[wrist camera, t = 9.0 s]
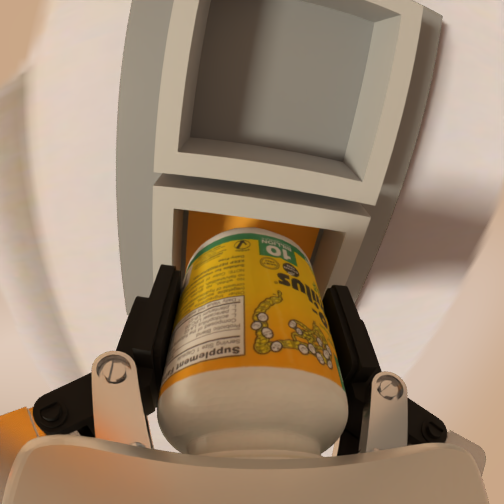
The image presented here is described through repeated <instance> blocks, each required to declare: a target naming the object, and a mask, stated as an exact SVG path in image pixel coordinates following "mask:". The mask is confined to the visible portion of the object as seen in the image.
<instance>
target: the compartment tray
mask: <svg viewBox="0 0 504 504" xmlns="http://www.w3.org/2000/svg"><path fill="white" fill-rule="evenodd" d="M442 17H443V16H442V15H440V14H438V13H436V12H434V11H433V10H431V9H429V8H427V7H425V6H423V5H421V4H419V3H417V2H415V1H413V0H132V4H131V9H130V14H129V20H128V25H127V31H126V38H125V45H124V52H123V60H122V68H121V78H120V89H119V101H118V117H117V140H116V197H117V221H118V237H119V250H120V261H121V272H122V281H123V289H124V297H125V305H126V312H127V315H129V313H130V311H131V308H132V305H133V303H134V300H135V298H136V297H137V296H141V297H148V298H149V296H150V293H151V290H152V287H153V284H154V282H155V279H156V276H157V273H158V271H159V268H160V266H161V264H164V265H171V266H176V270H179V271H181V289H182V285H183V281H184V277H185V274H186V270H187V267H188V264H189V262H190V260H191V258H192V256H193V255H194V253H195V252H196V251H197V250H198V248H199V247H200V246H201V245H202V244H203V243H205V242H206V241H207V240H209V239H210V238H212V237H214V236H216V235H217V234H219V233H222V232H225V231H228V230H231V229H234V228H246V227H255V228H261V229H265V230H268V231H272V232H274V233H277V234H280V235H282V236H285V237H287V238H289V239H291V240H292V241H293V242H295V243H296V244H297V245H298V246H299V247H300V248H301V249H302V250H303V252H304V253H305V254H306V256H307V258H308V259H309V261H310V263H311V266H312V269H313V272H314V275H315V279H316V283H317V286H318V289H319V293H320V296H321V300H323V297H324V294H325V292H326V290H327V288H331V286H332V285H342V286H347V287H348V289H349V291H350V294H351V296H352V299H353V301H354V304H355V302H356V300H357V298H358V296H359V294H360V291H361V289H362V287H363V285H364V282H365V280H366V278H367V276H368V273H369V271H370V269H371V266H372V264H373V262H374V259H375V257H376V255H377V252H378V250H379V247H380V245H381V242H382V240H383V237H384V235H385V232H386V230H387V227H388V224H389V222H390V219H391V216H392V214H393V211H394V208H395V205H396V203H397V200H398V197H399V194H400V191H401V188H402V185H403V182H404V179H405V176H406V173H407V170H408V167H409V164H410V161H411V157H412V154H413V151H414V147H415V144H416V140H417V137H418V133H419V130H420V126H421V122H422V119H423V115H424V111H425V107H426V103H427V98H428V94H429V90H430V85H431V81H432V76H433V71H434V66H435V61H436V56H437V50H438V44H439V38H440V31H441V25H442Z"/></svg>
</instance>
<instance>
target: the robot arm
mask: <svg viewBox="0 0 504 504" xmlns="http://www.w3.org/2000/svg"><path fill="white" fill-rule="evenodd" d="M180 293H181V271H179V270H176V266H171V265H164V264H161V266H160V268H159V271H158V273H157V276H156V279H155V282H154V284H153V287H152V290H151V293H150V296H149V298H148V297H141V296H137V297H136V298H135V300H134V303H133V305H132V308H131V311H130V313H129V316H128V319H127V321H126V324H125V327H124V329H123V332H122V335H121V338H120V341H119V343H118V346H117V349H116V351H109V352H105V353H103V354H101V355H99V356H98V357H97V358H96V359H95V361H94V363H93V364H92V372H91V373H89V374H87V375H85V376H83V377H81V378H79V379H77V380H75V381H73V382H71V383H68V384H66V385H64V386H62V387H60V388H58V389H56V390H53V391H51V392H49V393H47V394H45V395H43V396H42V397H40V398H39V399H38V400H37V401H36V403H35V404H34V407H32V408H29V409H28V408H27V407H23V408H21V409H18V410H15V411H12V412H10V413H7V414H4V415H1V416H0V504H489V501H488V497H487V493H486V489H485V486H484V483H483V479H482V474H483V470H484V466H485V462H486V456H485V452H484V450H483V449H482V448H481V447H480V446H478V445H476V444H475V443H473V442H471V441H469V440H467V439H465V438H464V437H462V436H460V435H458V434H456V433H454V432H453V431H451V430H450V431H449V432H447V429H446V427H445V425H444V423H443V422H442V421H441V420H440V419H439V418H437V417H436V416H434V415H433V414H431V413H430V412H428V411H427V410H425V409H424V408H422V407H421V406H419V405H417V404H416V403H415V402H413V401H412V400H410V399H409V398H407V388H406V385H405V383H404V381H403V380H402V379H401V378H400V377H399V376H398V375H396V374H394V373H391V372H386V371H384V372H382V371H381V369H380V366H379V363H378V360H377V357H376V354H375V351H374V349H373V346H372V343H371V340H370V338H369V335H368V332H367V329H366V327H365V324H364V322H363V321H362V320H361V319H360V317H359V314H358V312H357V309H356V307H355V304H354V301H353V299H352V296H351V294H350V291H349V289H348V287H347V286H342V285H332V286H331V288H327V290H326V292H325V294H324V297H323V300H322V304H323V307H324V313H325V316H326V319H327V321H328V325H329V330H330V333H331V337H332V340H333V343H334V347H335V351H336V354H337V359H338V363H339V367H340V371H341V376H342V379H343V384H344V388H345V392H346V396H347V402H348V419H347V423H346V426H345V429H344V431H343V433H342V434H341V436H340V437H339V438H338V440H337V441H336V442H335V443H334V448H333V453H332V457H320V458H303V459H241V458H223V457H210V456H200V455H191V454H183V453H175V452H169V451H162V450H156V449H154V445H153V441H152V436H151V431H150V426H149V421H148V415H149V414H151V413H153V412H154V411H155V407H158V398H159V393H160V387H161V382H162V377H163V371H164V367H165V362H166V357H167V352H168V346H169V343H170V338H171V333H172V328H173V323H174V319H175V315H176V310H177V306H178V302H179V298H180Z"/></svg>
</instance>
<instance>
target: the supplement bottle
mask: <svg viewBox="0 0 504 504" xmlns="http://www.w3.org/2000/svg"><path fill="white" fill-rule="evenodd" d="M157 418H158V423H159V427H160V429H161V431H162V433H163V435H164V437H165V438H166V439H167V441H168V442H169V443H170V444H171V445H172V446H173V447H174V448H175V449H176V450H178V451H179V452H181V453H183V454H191V455H200V456H210V457H223V458H241V459H303V458H320V457H323V456H321V453H323V452H324V451H326V450H327V449H328V448H330V447H331V446H332V445H333V444H334V443H335V442H336V441H337V440H338V438H339V437H340V436H341V434H342V433H343V431H344V429H345V426H346V423H347V419H348V402H347V396H346V392H345V388H344V384H343V379H342V376H341V371H340V367H339V363H338V359H337V354H336V351H335V347H334V343H333V340H332V337H331V333H330V330H329V325H328V321H327V319H326V316H325V313H324V307H323V304H322V300H321V296H320V293H319V289H318V286H317V283H316V279H315V275H314V272H313V269H312V266H311V263H310V261H309V259H308V258H307V256H306V254H305V253H304V252H303V250H302V249H301V248H300V247H299V246H298V245H297V244H296V243H295V242H293V241H292V240H291V239H289V238H287V237H285V236H282V235H280V234H277V233H274V232H272V231H268V230H265V229H261V228H255V227H246V228H234V229H231V230H228V231H225V232H222V233H219V234H217V235H216V236H214V237H212V238H210V239H209V240H207V241H206V242H205V243H203V244H202V245H201V246H200V247H199V248H198V250H197V251H196V252H195V253H194V255H193V256H192V258H191V260H190V262H189V264H188V267H187V270H186V274H185V277H184V281H183V285H182V289H181V293H180V298H179V302H178V306H177V310H176V315H175V319H174V323H173V328H172V333H171V338H170V343H169V346H168V352H167V357H166V362H165V367H164V371H163V377H162V382H161V387H160V393H159V398H158V407H157Z"/></svg>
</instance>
